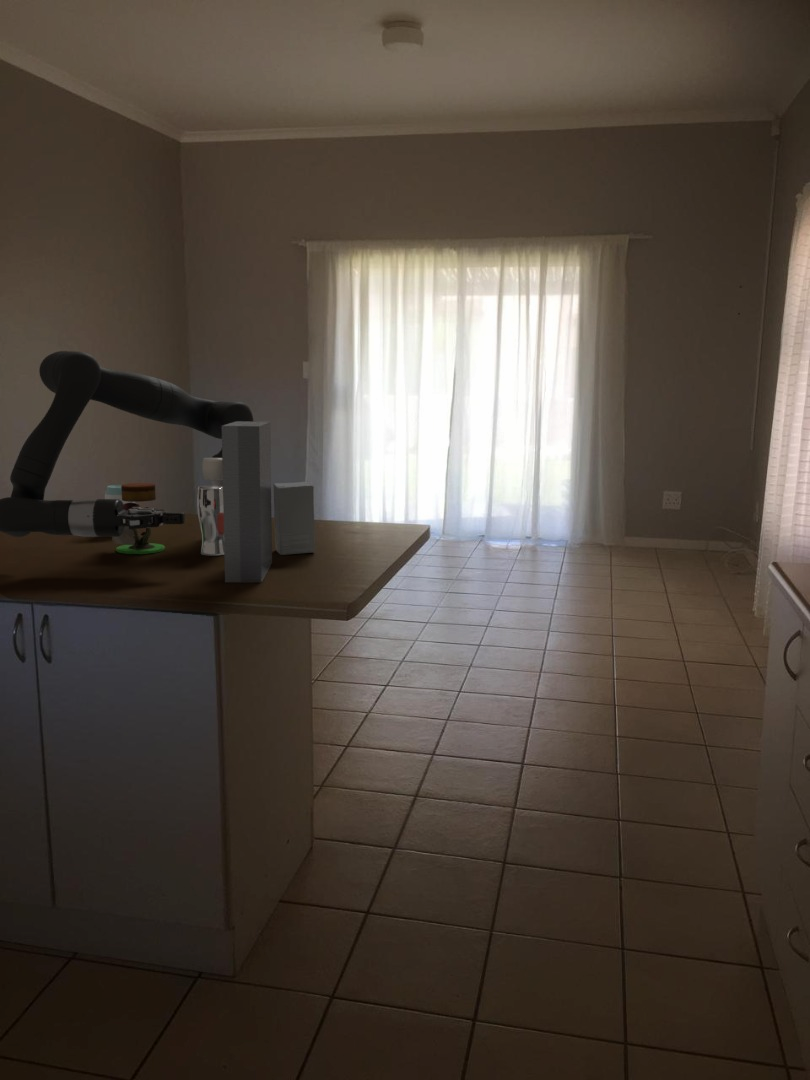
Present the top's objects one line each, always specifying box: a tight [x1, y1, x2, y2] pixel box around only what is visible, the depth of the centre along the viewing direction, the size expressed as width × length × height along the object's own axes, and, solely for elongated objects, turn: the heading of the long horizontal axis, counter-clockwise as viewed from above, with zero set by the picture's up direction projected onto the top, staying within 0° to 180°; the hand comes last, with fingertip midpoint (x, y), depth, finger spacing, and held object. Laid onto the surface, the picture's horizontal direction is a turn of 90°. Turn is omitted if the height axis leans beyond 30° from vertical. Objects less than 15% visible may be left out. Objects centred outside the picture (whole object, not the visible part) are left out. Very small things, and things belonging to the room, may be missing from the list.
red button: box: [217, 513, 224, 535], centre depth 178 cm, size 5×4×4 cm
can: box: [104, 484, 136, 504], centre depth 221 cm, size 7×7×12 cm
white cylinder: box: [201, 457, 223, 481], centre depth 176 cm, size 5×4×4 cm
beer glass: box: [196, 484, 224, 557], centre depth 198 cm, size 7×7×15 cm
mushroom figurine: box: [111, 482, 166, 555], centre depth 200 cm, size 12×13×15 cm
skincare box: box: [273, 481, 316, 556], centre depth 200 cm, size 8×7×16 cm
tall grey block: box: [221, 421, 273, 584], centre depth 177 cm, size 7×18×30 cm, turn 2°
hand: (184, 518), depth 178 cm, fingers closed
